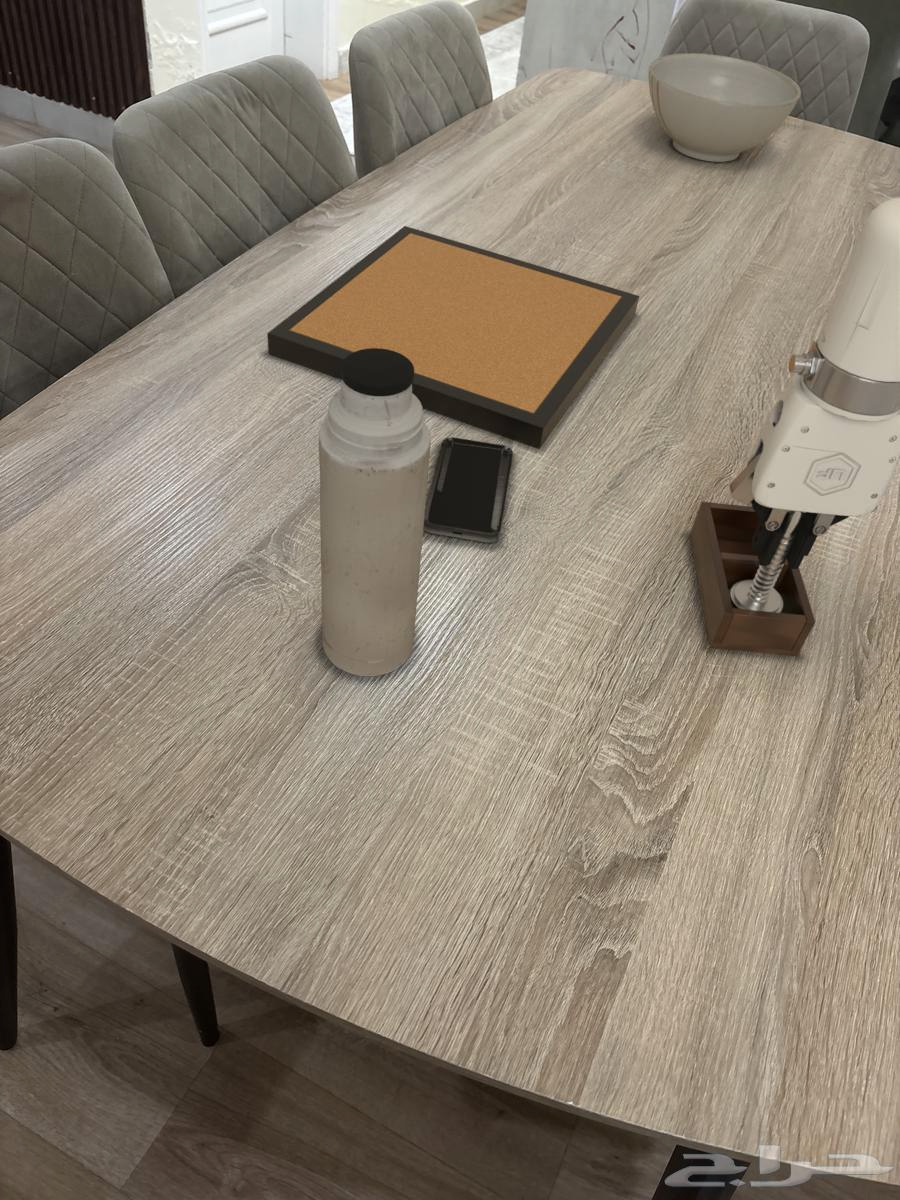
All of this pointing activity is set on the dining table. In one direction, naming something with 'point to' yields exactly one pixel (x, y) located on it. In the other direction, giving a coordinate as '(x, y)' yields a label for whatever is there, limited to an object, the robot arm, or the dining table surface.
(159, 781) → the dining table surface
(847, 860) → the dining table surface
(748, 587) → the screw
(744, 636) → the organiser
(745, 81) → the decorative bowl
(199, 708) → the dining table surface
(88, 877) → the dining table surface
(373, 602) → the thermos bottle
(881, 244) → the robot arm
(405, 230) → the cork board
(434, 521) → the phone
